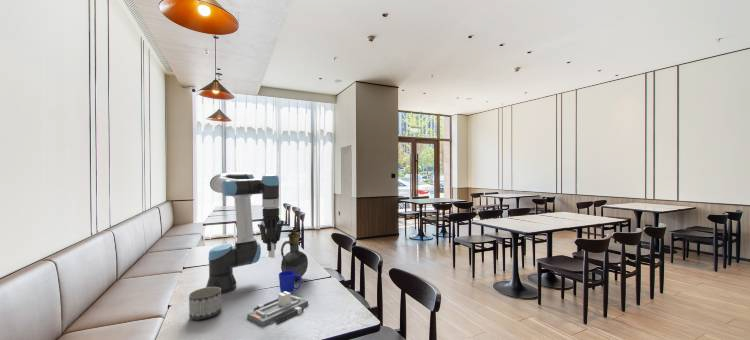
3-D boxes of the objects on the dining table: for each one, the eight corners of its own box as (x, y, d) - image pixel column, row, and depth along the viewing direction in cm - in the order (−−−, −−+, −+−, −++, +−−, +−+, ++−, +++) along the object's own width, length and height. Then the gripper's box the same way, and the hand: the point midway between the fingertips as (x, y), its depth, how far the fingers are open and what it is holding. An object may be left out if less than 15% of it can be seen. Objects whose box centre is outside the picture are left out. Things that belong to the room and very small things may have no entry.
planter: (199, 324, 128) (198, 300, 128) (183, 317, 134) (183, 294, 134) (227, 312, 138) (226, 289, 138) (211, 306, 145) (211, 284, 145)
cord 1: (252, 311, 138) (252, 307, 138) (278, 301, 149) (278, 296, 149) (255, 313, 136) (255, 308, 136) (281, 302, 147) (281, 297, 147)
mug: (297, 295, 155) (297, 276, 155) (276, 294, 157) (275, 275, 157) (304, 289, 163) (304, 271, 163) (284, 288, 165) (283, 270, 165)
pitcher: (310, 276, 182) (309, 227, 183) (290, 288, 165) (288, 233, 165) (296, 274, 187) (294, 226, 187) (274, 285, 169) (273, 232, 169)
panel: (247, 318, 132) (247, 311, 132) (292, 298, 151) (292, 292, 151) (262, 326, 125) (262, 318, 125) (308, 304, 144) (308, 298, 144)
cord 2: (274, 322, 128) (274, 317, 128) (300, 309, 139) (300, 305, 139) (278, 324, 126) (277, 319, 126) (304, 311, 137) (304, 306, 137)
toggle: (278, 304, 140) (278, 293, 140) (285, 301, 143) (285, 290, 143) (283, 306, 138) (283, 295, 138) (291, 303, 141) (290, 292, 141)
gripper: (262, 210, 135) (263, 262, 136) (287, 206, 145) (288, 255, 146) (253, 208, 140) (254, 259, 140) (278, 205, 150) (278, 252, 150)
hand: (271, 257), depth 143 cm, fingers closed
